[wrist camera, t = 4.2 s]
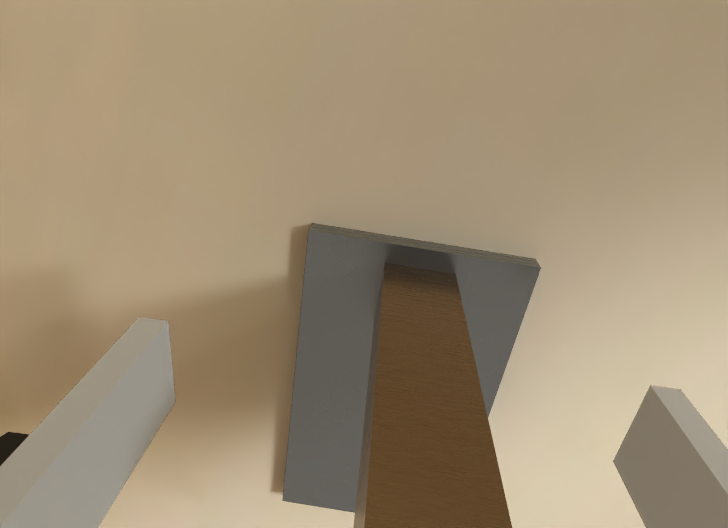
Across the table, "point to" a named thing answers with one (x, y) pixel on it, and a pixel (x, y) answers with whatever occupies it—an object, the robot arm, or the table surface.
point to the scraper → (402, 379)
